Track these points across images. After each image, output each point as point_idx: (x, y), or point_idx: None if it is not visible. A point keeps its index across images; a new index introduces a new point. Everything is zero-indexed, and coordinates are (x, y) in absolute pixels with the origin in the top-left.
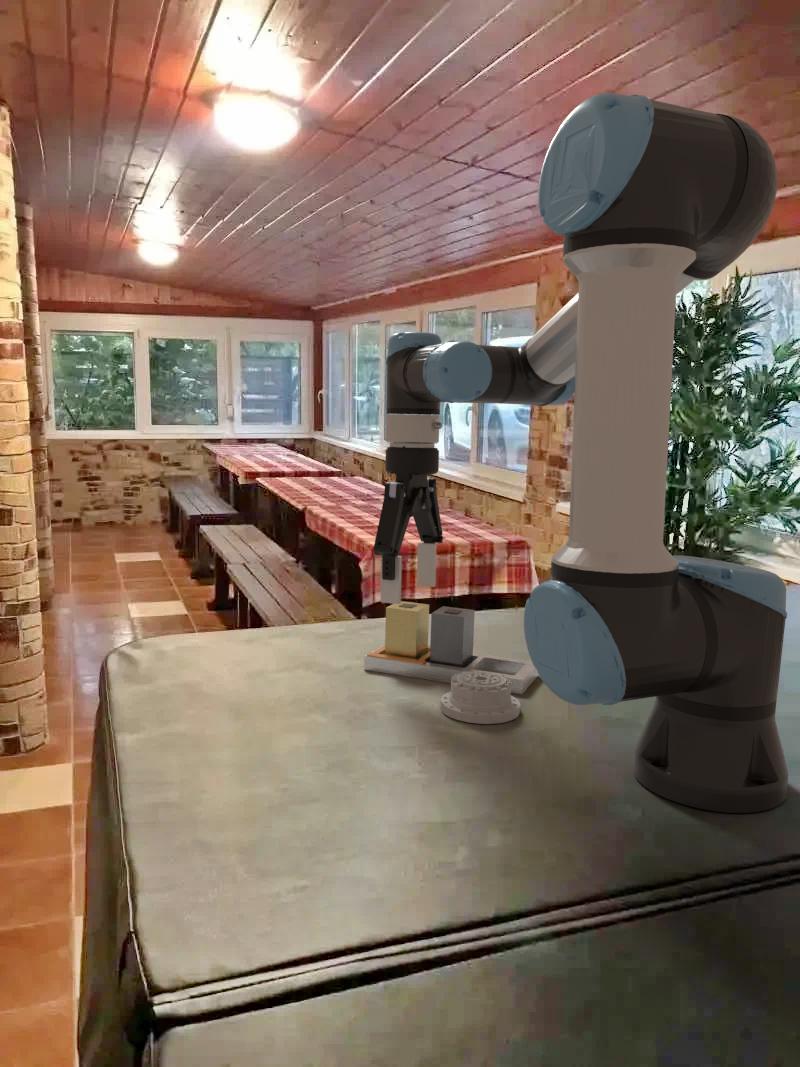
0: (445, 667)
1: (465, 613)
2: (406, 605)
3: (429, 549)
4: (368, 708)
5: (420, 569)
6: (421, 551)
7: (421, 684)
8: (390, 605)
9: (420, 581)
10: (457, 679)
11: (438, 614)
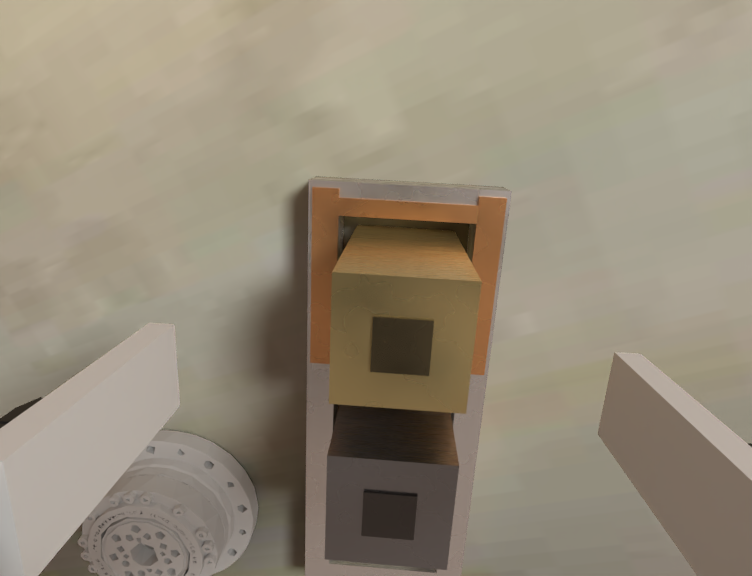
0: (314, 418)
1: (383, 553)
2: (396, 342)
3: (727, 566)
4: (57, 296)
5: (655, 413)
6: (728, 495)
7: (273, 354)
8: (375, 277)
9: (620, 380)
10: (108, 512)
11: (326, 479)
